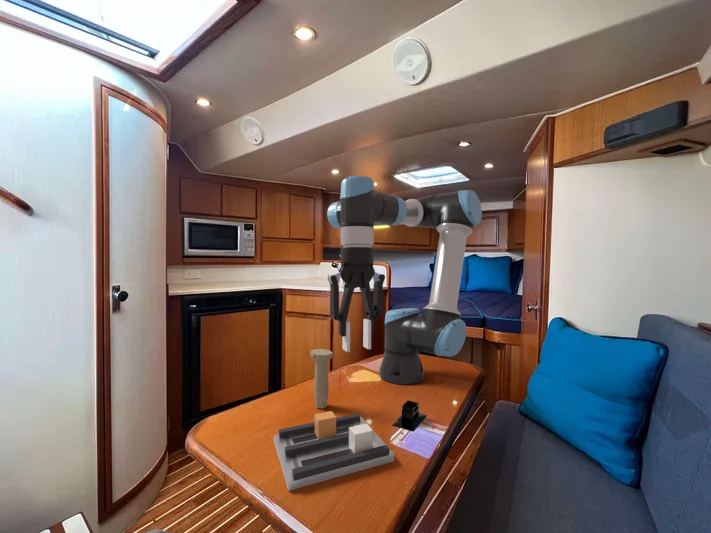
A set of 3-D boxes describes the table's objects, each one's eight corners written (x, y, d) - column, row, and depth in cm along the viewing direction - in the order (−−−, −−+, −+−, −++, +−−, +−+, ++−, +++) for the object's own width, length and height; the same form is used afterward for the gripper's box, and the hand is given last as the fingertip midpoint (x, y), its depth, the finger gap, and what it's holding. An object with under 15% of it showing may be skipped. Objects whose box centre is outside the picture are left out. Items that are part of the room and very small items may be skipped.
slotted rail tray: (358, 418, 77) (358, 413, 77) (389, 454, 63) (389, 448, 63) (278, 434, 70) (278, 429, 70) (293, 480, 55) (294, 473, 55)
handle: (323, 413, 82) (323, 356, 82) (306, 406, 87) (306, 351, 86) (336, 407, 86) (336, 352, 86) (319, 400, 90) (319, 347, 90)
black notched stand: (414, 438, 72) (414, 418, 72) (385, 429, 76) (385, 410, 76) (432, 415, 83) (432, 398, 83) (406, 408, 87) (406, 392, 87)
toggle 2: (366, 442, 67) (366, 423, 67) (372, 450, 64) (372, 430, 64) (348, 446, 65) (348, 427, 65) (354, 454, 63) (354, 434, 62)
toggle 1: (331, 428, 72) (331, 411, 72) (336, 435, 70) (336, 417, 69) (314, 432, 71) (314, 414, 71) (318, 439, 68) (318, 420, 68)
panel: (361, 422, 78) (361, 416, 78) (394, 461, 63) (394, 453, 63) (273, 441, 70) (273, 434, 70) (288, 491, 55) (288, 482, 55)
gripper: (383, 247, 79) (383, 341, 80) (315, 246, 72) (314, 348, 73) (399, 246, 72) (398, 349, 73) (325, 245, 65) (324, 358, 66)
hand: (356, 348), depth 73 cm, fingers open, 4 cm apart
